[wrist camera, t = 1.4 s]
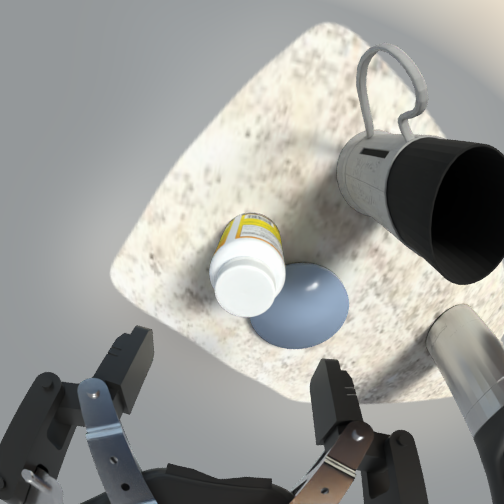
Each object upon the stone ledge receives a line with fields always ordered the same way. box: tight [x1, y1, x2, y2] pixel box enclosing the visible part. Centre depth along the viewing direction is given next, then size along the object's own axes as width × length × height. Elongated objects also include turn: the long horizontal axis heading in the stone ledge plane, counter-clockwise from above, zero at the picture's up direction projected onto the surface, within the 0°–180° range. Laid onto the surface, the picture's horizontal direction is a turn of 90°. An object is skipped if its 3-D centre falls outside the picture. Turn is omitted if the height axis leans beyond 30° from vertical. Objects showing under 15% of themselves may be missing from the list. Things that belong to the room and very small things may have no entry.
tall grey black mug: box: [337, 43, 504, 285], centre depth 16 cm, size 9×14×15 cm, turn 33°
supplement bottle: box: [209, 212, 286, 317], centre depth 22 cm, size 6×6×10 cm
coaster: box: [250, 263, 349, 349], centre depth 29 cm, size 11×11×1 cm
